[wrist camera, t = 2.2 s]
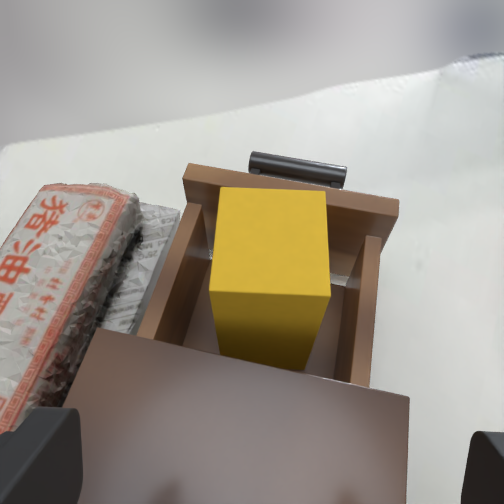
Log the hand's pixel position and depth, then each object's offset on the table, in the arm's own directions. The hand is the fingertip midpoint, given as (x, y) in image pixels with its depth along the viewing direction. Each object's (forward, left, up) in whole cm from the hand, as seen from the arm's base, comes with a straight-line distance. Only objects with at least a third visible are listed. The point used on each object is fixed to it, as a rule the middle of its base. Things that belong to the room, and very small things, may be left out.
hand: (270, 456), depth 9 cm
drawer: (-1, +10, -15) cm, 18 cm away
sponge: (-1, +8, -14) cm, 16 cm away
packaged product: (-14, +7, -16) cm, 22 cm away
